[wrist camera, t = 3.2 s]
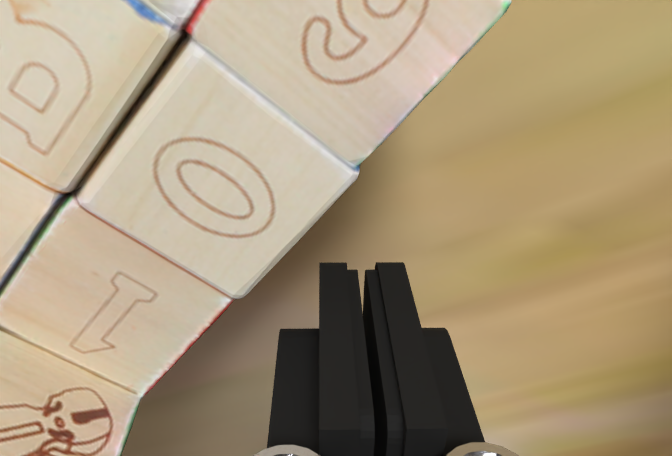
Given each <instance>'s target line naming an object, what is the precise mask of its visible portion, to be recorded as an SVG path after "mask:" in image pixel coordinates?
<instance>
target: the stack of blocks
mask: <svg viewBox="0 0 672 456" xmlns="http://www.w3.org/2000/svg"><path fill="white" fill-rule="evenodd" d="M511 2H512V1H511V0H0V456H121V454H122V452H123V449H124V446H125V444H126V441H127V438H128V435H129V433H130V430H131V427H132V424H133V421H134V418H135V415H136V412H137V409H138V406H139V403H140V400H141V398H142V397H143V396H144V395H146V394H147V393H148V392H149V391H150V390H151V389H152V388H153V387H154V386H155V384H156V383H157V382H158V381H159V380H160V379H161V378H162V377H163V376H164V375H165V374H166V373H167V372H168V371H169V370H170V369H171V367H172V366H173V365H174V364H175V363H176V362H177V361H178V360H179V359H180V358H181V357H182V356H183V355H184V354H185V353H186V351H187V350H188V349H189V348H190V347H191V346H192V345H193V344H194V343H195V342H196V341H197V340H198V339H199V338H200V337H201V336H202V335H203V333H204V332H205V331H206V330H207V329H208V328H209V327H210V326H211V325H212V324H213V323H214V322H215V321H216V320H217V319H218V318H219V317H220V316H221V315H222V313H223V312H224V311H225V310H226V309H227V308H228V307H229V306H230V304H231V303H232V302H233V301H234V299H239V298H243V297H244V296H245V295H247V294H248V293H249V292H250V291H251V290H252V289H253V288H254V287H255V286H256V284H257V283H258V282H259V281H260V280H261V279H262V278H263V277H264V276H265V275H266V274H267V273H268V272H269V271H270V270H271V269H272V268H273V267H274V266H275V265H276V264H277V263H278V262H279V261H280V260H281V259H282V258H283V256H284V255H285V254H286V253H287V252H288V251H289V250H290V249H291V248H292V247H293V246H294V245H295V244H296V243H297V242H298V241H299V240H300V239H301V238H302V237H303V236H304V235H305V233H306V232H307V231H308V230H309V229H310V228H311V227H312V226H313V225H314V224H315V223H316V222H317V221H318V220H319V219H320V218H321V217H322V215H323V214H324V213H325V212H326V211H327V210H328V209H329V208H330V207H331V206H332V205H333V204H334V203H335V202H336V201H337V200H338V199H339V198H340V196H341V195H342V194H343V193H344V192H345V191H346V190H347V189H348V188H349V187H350V186H351V185H352V184H353V183H354V182H355V181H356V180H357V178H358V175H359V172H360V164H361V163H362V162H363V161H364V160H365V159H366V158H367V157H368V156H369V155H370V154H371V153H372V152H374V151H375V150H376V149H377V148H378V147H379V146H380V145H381V144H382V143H383V142H384V141H385V140H386V139H387V138H388V137H389V135H390V134H391V133H392V132H393V131H394V130H395V129H396V128H397V127H398V126H399V125H400V124H401V123H402V122H403V121H404V120H405V119H406V117H407V116H408V115H409V114H410V113H411V112H412V111H413V110H414V109H415V108H416V107H417V105H418V104H419V103H420V102H421V101H422V100H423V99H424V98H425V97H426V96H427V95H428V94H429V93H430V92H431V91H432V90H433V89H434V88H435V87H436V86H437V85H438V84H439V83H440V82H441V81H442V80H443V79H444V78H445V77H446V76H447V74H448V73H449V72H450V71H451V70H452V69H453V67H454V66H455V65H456V64H457V63H458V62H459V61H460V60H461V59H462V58H463V57H464V56H465V55H466V54H467V53H468V52H469V51H470V50H471V49H472V48H473V47H474V46H475V45H476V43H477V42H478V41H479V40H480V39H481V38H482V37H483V36H484V35H485V34H486V33H487V32H488V31H489V30H490V28H491V27H492V26H493V25H494V24H495V23H496V22H497V21H498V20H499V19H500V18H501V17H502V16H503V15H504V13H505V12H506V11H507V9H508V8H509V6H510V4H511Z"/></svg>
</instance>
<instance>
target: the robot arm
mask: <svg viewBox="0 0 672 456" xmlns="http://www.w3.org/2000/svg"><path fill="white" fill-rule="evenodd" d="M253 456H519V455H517V454H516V453H514V452H512V451H510V450H508V449H506V448H504V447H502V446H498V445H494V444H490V443H486V442H485V441H484V438H483V435H482V432H481V429H480V426H479V423H478V420H477V417H476V414H475V411H474V408H473V405H472V402H471V399H470V395H469V392H468V389H467V386H466V383H465V380H464V377H463V374H462V371H461V368H460V365H459V362H458V359H457V356H456V353H455V350H454V347H453V344H452V341H451V338H450V336H449V333H448V331H447V330H446V329H445V328H421V324H420V321H419V317H418V313H417V309H416V306H415V302H414V298H413V294H412V291H411V287H410V283H409V279H408V275H407V272H406V268H405V265H404V263H403V262H401V263H376V264H375V270H365V281H364V301H363V314H362V305H361V297H360V288H359V279H358V271H357V270H347V263H320V285H319V329H280V332H279V340H278V350H277V359H276V369H275V378H274V388H273V397H272V406H271V416H270V425H269V435H268V444H267V449H263V450H262V451H260V452H258V453H257V454H255V455H253Z"/></svg>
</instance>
